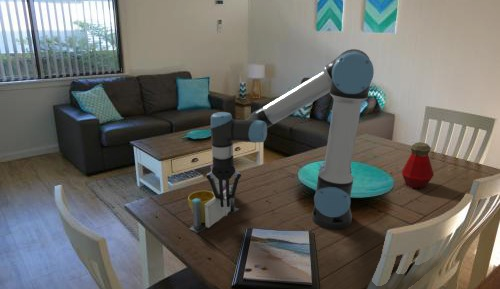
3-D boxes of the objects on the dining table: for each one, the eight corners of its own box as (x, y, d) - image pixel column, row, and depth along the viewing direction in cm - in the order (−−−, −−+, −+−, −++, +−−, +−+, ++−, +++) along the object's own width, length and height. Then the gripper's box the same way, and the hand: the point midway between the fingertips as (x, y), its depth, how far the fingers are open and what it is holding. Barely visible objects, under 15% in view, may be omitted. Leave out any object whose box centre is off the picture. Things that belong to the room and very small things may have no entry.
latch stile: (206, 228, 143) (204, 199, 140) (197, 233, 140) (196, 203, 136) (197, 224, 146) (196, 196, 142) (189, 229, 143) (187, 200, 139)
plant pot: (194, 228, 143) (192, 204, 140) (186, 216, 152) (184, 193, 149) (220, 221, 147) (219, 198, 144) (211, 210, 156) (210, 188, 153)
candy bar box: (218, 191, 174) (217, 157, 169) (229, 192, 173) (228, 157, 168) (211, 202, 164) (209, 166, 159) (222, 203, 163) (221, 167, 158)
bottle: (422, 194, 171) (428, 151, 164) (393, 185, 180) (398, 144, 174) (437, 185, 180) (444, 144, 174) (410, 176, 190) (415, 137, 184)
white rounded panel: (230, 206, 158) (230, 184, 155) (236, 207, 157) (235, 186, 154) (204, 226, 143) (203, 202, 140) (210, 228, 142) (209, 204, 139)
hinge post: (239, 209, 157) (239, 191, 155) (232, 213, 154) (231, 194, 151) (231, 206, 160) (230, 188, 157) (224, 210, 157) (223, 191, 154)
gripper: (240, 151, 142) (242, 208, 150) (205, 152, 142) (209, 209, 149) (240, 158, 135) (242, 218, 142) (204, 159, 134) (208, 219, 142)
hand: (225, 214), depth 146 cm, fingers closed
